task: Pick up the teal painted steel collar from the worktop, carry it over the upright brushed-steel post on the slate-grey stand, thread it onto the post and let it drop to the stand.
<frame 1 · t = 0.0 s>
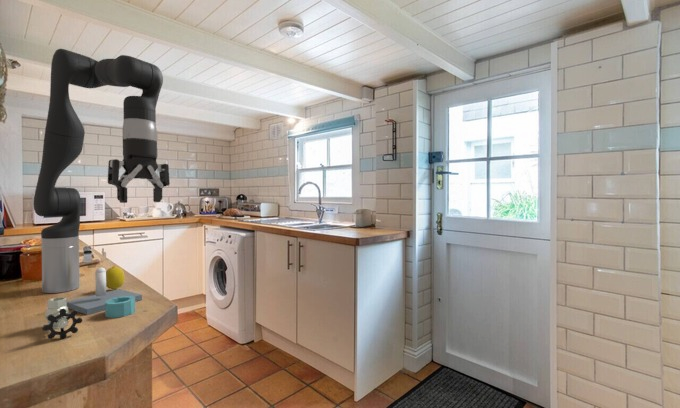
hand: (140, 202, 84), 29 cm above the counter, fingers open, 8 cm apart
lemon: (114, 291, 105), on the counter
post stand: (101, 304, 92), on the counter
collar: (120, 313, 86), on the counter
valve: (59, 332, 74), on the counter
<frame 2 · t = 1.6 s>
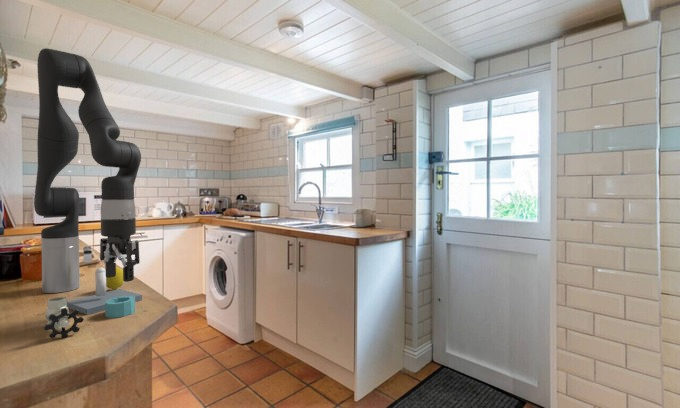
hand: (119, 279, 85), 9 cm above the counter, fingers open, 8 cm apart
nothing on the counter moved.
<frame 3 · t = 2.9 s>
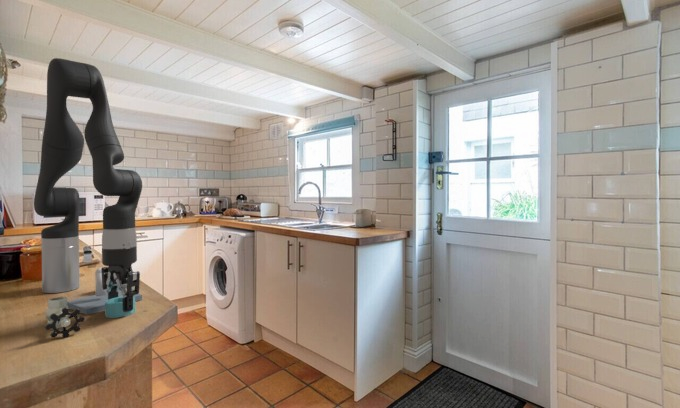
hand: (120, 308, 85), 1 cm above the counter, fingers closed on collar, 6 cm apart
collar: (120, 313, 86), on the counter, touching gripper
everything else where it was.
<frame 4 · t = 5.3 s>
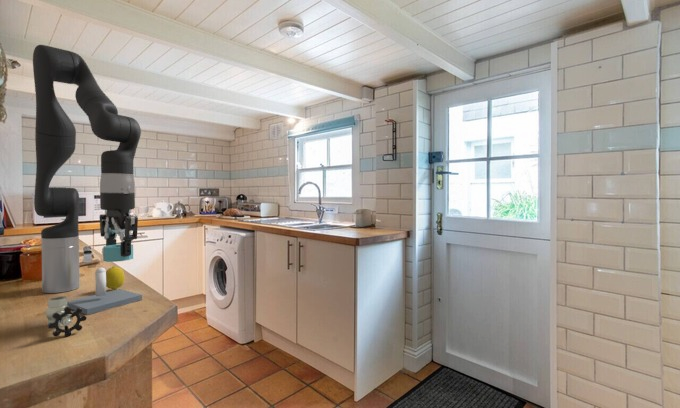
hand: (118, 254, 86), 15 cm above the counter, fingers closed on collar, 6 cm apart
collar: (118, 259, 86), point 14 cm above the counter, touching gripper
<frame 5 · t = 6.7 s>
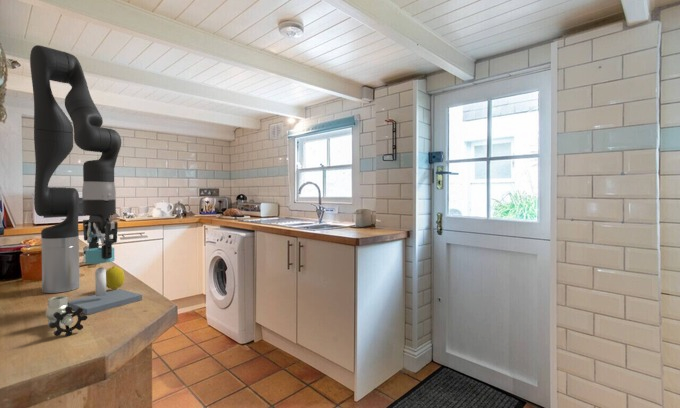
hand: (100, 257, 92), 13 cm above the counter, fingers closed on collar, 6 cm apart
collar: (100, 261, 92), point 12 cm above the counter, touching gripper
when the fingers open (10 cm above the counter, at t = 8.0 s): collar drops 7 cm, resting on post stand.
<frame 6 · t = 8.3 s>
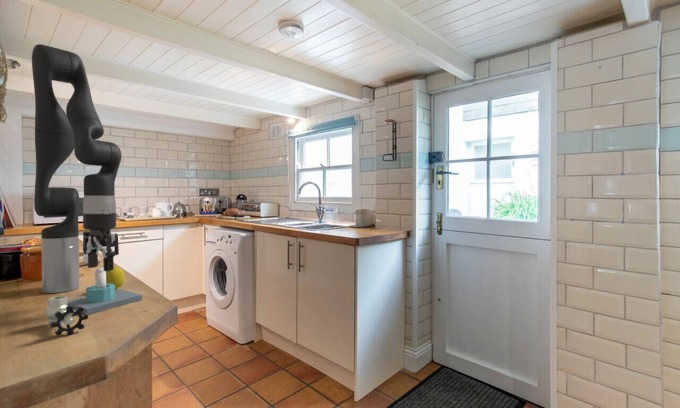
hand: (100, 269, 92), 10 cm above the counter, fingers open, 8 cm apart
collar: (100, 298, 92), point 1 cm above the counter, touching post stand
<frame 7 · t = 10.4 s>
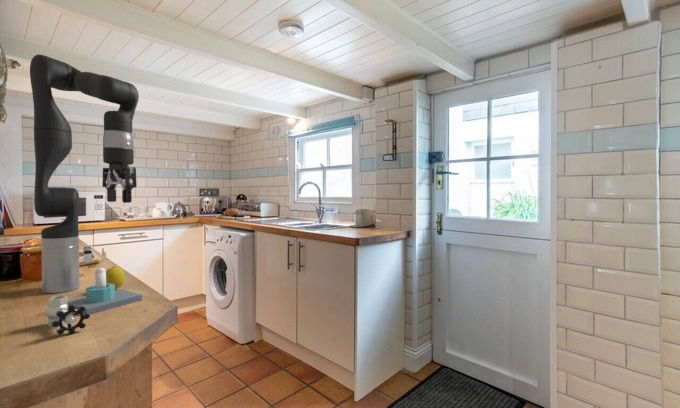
hand: (119, 202, 97), 29 cm above the counter, fingers open, 8 cm apart
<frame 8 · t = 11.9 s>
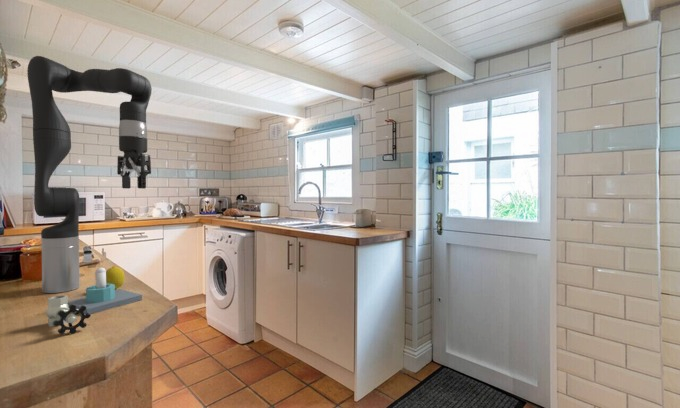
hand: (133, 188, 102), 33 cm above the counter, fingers open, 8 cm apart
at the end: collar 0.1 cm from the post stand (horizontally); collar point 1.5 cm above the counter; the gripper is holding nothing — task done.
